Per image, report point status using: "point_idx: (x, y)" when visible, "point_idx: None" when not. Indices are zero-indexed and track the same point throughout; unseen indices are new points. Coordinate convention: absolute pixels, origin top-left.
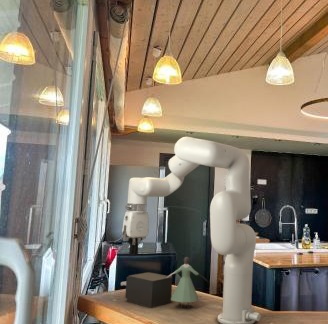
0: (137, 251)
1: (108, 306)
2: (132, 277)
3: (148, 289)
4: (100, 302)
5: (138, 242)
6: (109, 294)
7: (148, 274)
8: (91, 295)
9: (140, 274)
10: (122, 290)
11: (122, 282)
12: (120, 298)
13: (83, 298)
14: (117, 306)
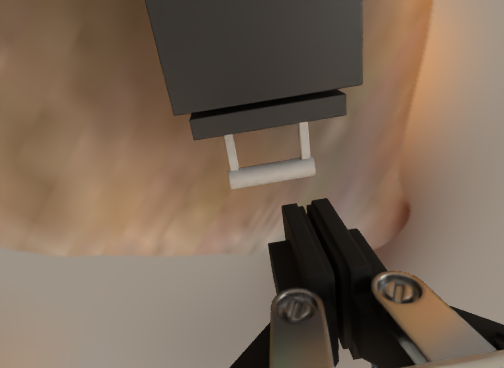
0: (294, 221)
1: (422, 41)
2: (361, 33)
3: None
4: (402, 125)
5: (305, 318)
6: None
7: (219, 33)
8: None
9: (268, 75)
10: (226, 243)
11: (314, 165)
12: None
13: (405, 218)
14: (398, 11)
